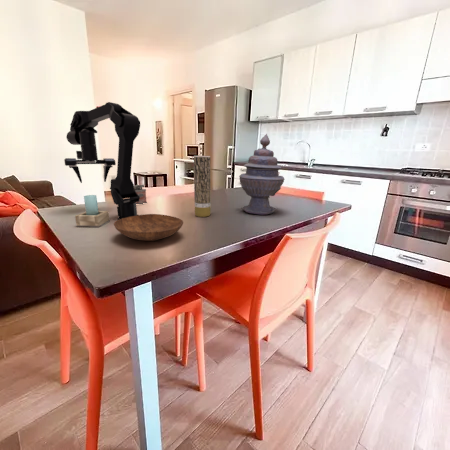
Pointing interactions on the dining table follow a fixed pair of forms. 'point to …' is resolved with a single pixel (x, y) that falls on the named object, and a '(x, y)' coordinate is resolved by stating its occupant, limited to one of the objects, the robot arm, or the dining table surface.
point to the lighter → (140, 194)
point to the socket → (92, 219)
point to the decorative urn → (261, 179)
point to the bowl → (148, 226)
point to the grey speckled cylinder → (202, 186)
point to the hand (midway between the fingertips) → (93, 182)
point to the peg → (91, 205)
